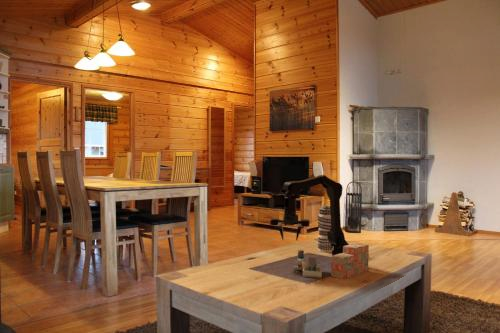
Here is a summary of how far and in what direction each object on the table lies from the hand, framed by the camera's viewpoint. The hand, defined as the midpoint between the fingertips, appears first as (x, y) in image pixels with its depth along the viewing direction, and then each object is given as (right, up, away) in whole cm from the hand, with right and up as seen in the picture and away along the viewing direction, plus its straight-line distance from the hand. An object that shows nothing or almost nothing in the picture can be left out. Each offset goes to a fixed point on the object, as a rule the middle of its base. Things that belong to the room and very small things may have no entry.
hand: (289, 240), depth 210 cm
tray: (+8, -13, -17) cm, 23 cm away
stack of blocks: (+26, -13, -14) cm, 32 cm away
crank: (+4, -10, -5) cm, 12 cm away
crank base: (+4, -12, -8) cm, 15 cm away
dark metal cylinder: (+8, -12, -17) cm, 23 cm away
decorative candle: (+23, -12, +34) cm, 43 cm away
